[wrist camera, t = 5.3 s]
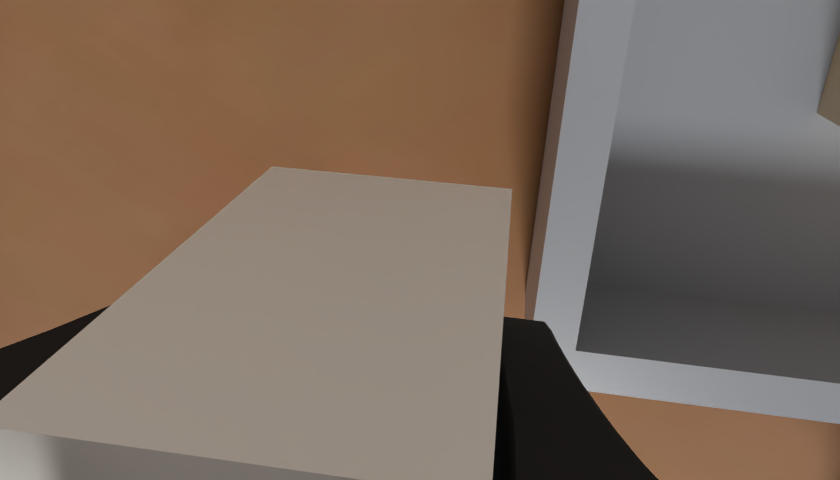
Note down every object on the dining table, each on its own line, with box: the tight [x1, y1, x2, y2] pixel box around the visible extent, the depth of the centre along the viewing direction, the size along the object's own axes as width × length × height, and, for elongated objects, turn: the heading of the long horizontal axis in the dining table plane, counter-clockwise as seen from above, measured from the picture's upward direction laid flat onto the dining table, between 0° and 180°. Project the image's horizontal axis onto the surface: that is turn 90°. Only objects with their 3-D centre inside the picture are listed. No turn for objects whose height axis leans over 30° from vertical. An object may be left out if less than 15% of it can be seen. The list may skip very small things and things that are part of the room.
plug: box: [0, 166, 512, 480], centre depth 9 cm, size 4×4×8 cm
